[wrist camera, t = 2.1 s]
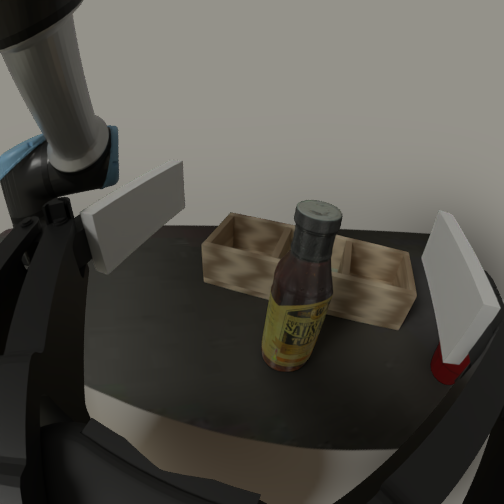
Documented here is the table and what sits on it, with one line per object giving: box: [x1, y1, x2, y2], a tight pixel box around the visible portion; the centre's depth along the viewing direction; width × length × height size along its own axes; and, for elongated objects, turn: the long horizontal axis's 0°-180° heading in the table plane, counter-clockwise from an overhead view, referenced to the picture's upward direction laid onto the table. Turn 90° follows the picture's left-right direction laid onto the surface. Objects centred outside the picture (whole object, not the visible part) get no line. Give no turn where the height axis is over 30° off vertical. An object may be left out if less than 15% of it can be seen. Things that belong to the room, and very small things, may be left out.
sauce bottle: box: [261, 200, 342, 372], centre depth 29 cm, size 7×6×20 cm
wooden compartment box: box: [202, 213, 417, 330], centre depth 44 cm, size 31×11×7 cm, turn 71°
